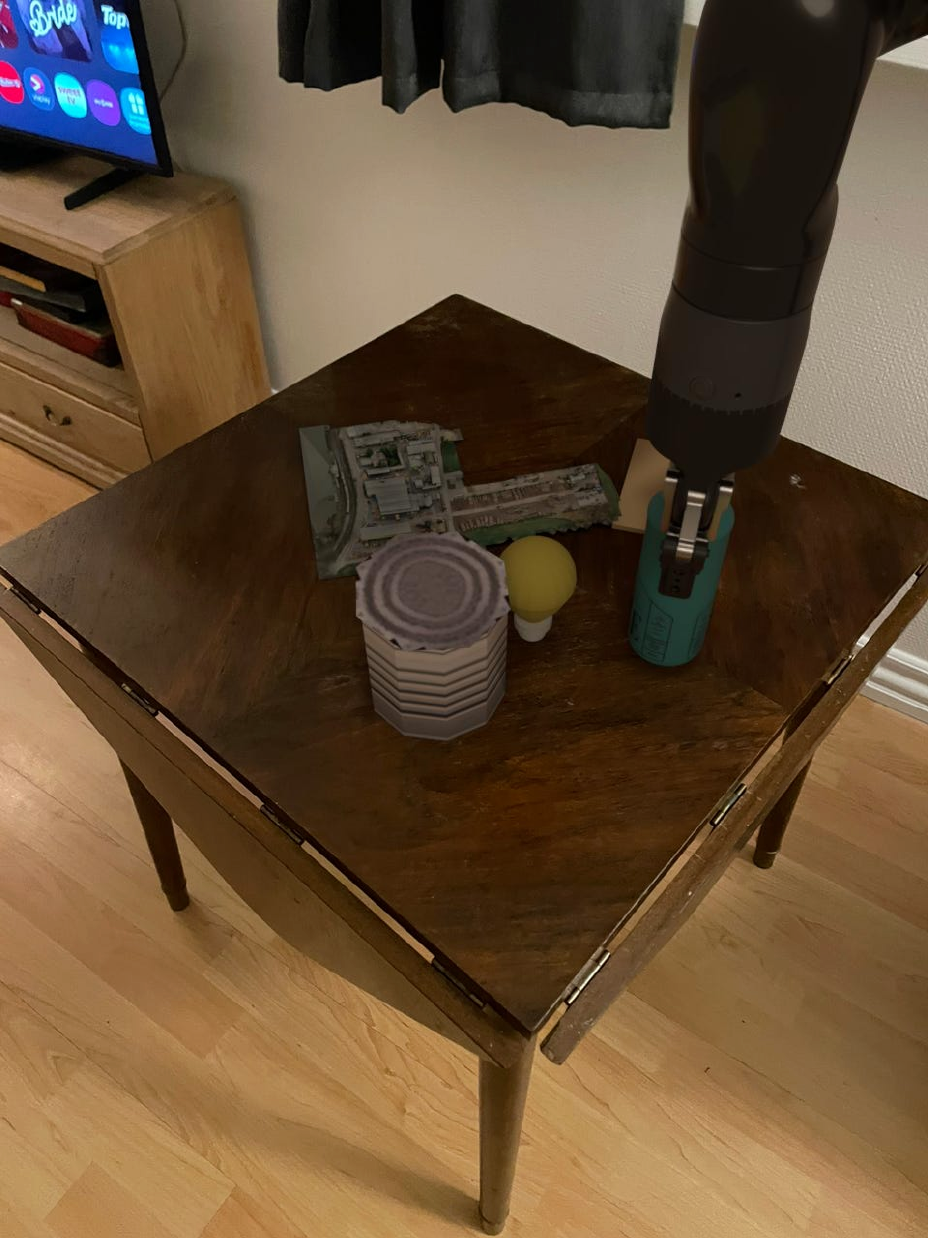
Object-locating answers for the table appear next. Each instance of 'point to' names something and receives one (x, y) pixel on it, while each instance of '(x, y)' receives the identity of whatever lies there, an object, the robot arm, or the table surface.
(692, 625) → the beverage bottle
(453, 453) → the model
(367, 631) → the can
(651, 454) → the mat
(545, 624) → the light bulb
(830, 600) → the table surface
